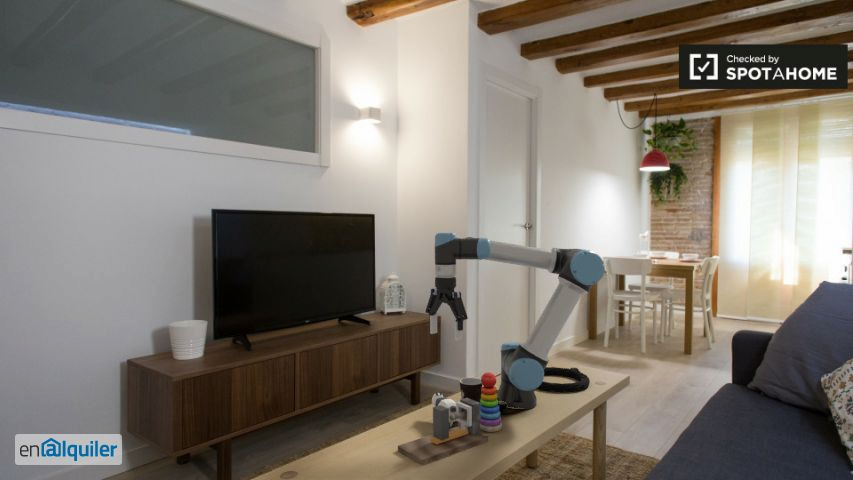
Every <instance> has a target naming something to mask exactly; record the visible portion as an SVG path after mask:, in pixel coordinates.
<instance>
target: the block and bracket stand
mask: <svg viewBox="0 0 853 480" xmlns="http://www.w3.org/2000/svg"><path fill="white" fill-rule="evenodd" d="M455 402H456V413H459V412H461V408H464V409H466V410H467V420H465V419H463V418H458V419H456V421H458V422H459V423H461V428H459V429H456V430H453V431H450V432H449V409H448V408H446V407H444V406H441V405H439V406H436V407H435V406H433V407H432V435H433V436H434V437H432V438H430V441H431V442H433V443H434V444H436V445H437V444H440V443H443V442H445V441H448V440H451V439H454V438H457V437H460V436H463V435H466V434H469V433H468V426H472V407H471V406H469V405H466V404H464V403H461V402H460V401H455Z"/></svg>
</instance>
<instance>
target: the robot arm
mask: <svg viewBox="0 0 853 480" xmlns="http://www.w3.org/2000/svg"><path fill="white" fill-rule="evenodd" d="M457 260H459V261H460V260H473V261H474V260H479V261H482V260H484V261H491V262H492V261H493V262H498V263H502V264H504V263H505V264H510V265H516V266H523V267H529V268H533V269H534V268H535V269H541V270H546V271H548V273H549V274H555V275H558V276H557V279H558V285H557V286H556V289H554V292H553V294H552V296H551V297H550V299H549V300H548V302H547V304H546V306H545V307H544V310H543V311H542V313H541V315H540V316H539V318H538V319H537V321H536V323H535V325H534V326H533V328H532V330H531V331H530V334H529V335H528V337H527V339H526V341H524V342H523V341H522V342H519V341H518V342H504V343H502V344H501V346H500V378H501V379H500V385H499V387H498V391H497V393H496V394H497V396H498V398H499V399H501V400H502V401H504V402H506V403H507V405H508V407H514V408H518V407H519V408H524V410H530V409H533V408H535V407H536V406H537V405H538V401H537V396H536V393H535V390H536V389H537V387H538V386H540V384H541V383H542V381H544V378H545V375H544V369H545V367H548V366H547V365H548V363H549V362H550V359H549V353H550V351H551V349H552V348H553V346H554V344H555V342H556V340H557V339H558V338H559V335H560V334H561V332H562V330H563V329H564V327H565V325H566V323H567V321H568V319H569V317H570V316H571V314H572V313H573V312H574V309H575V307H576V306H577V304H578V302H579V301H580V298H581V297H582V296H583V295H587V294H589V292H590V290H591V289H592V287H593V285H595V284H597V283H598V282H600V281H601V280H602V278H603V277H604V274H605V262H604V260H603V259H602V257H601V256H600V255H599V254H598V253H596V252H594V251H592V250H590V249H582V248H558V247H552V248H551V249H547V248H540V247H535V246H533V247H532V246H527V245H520V244H515V243H508V242H502V241H495V240H490V239H489V238H486V237H485V238H484V237H474V236H473V237H471V236H468V237H464V238H459V237H457V234H456V233H455V232H438V233H436V234H435V235H434V275H435V278H434V288H430V296H429V297H428V298H429V299H428V302H427V305H426V309H425V313H426V314H428V316H429V325H430V326H429V328H430V329H429V330H430V332H429V333H430V334H431V335H434V334H437V333H438V315H437V312H438V311H439V309H440V307H441V305H443V303H444V304H447V306H449V307H450V310H451V312H452V314H453V316H454V318H455V320H454V341H459V340H463V330H464V321H466V320H468V314H467V312H466V307H465V306H464V305H465V304H464V302H463V299H462V292H461V291H455V288H456V287H457V277H456V276H457Z"/></svg>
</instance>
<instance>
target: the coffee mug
mask: <svg viewBox="0 0 853 480" xmlns="http://www.w3.org/2000/svg"><path fill="white" fill-rule="evenodd" d="M482 387H483V384H482V382H481V378H478V377H463V378H461V379H459V388H460V396H461V399H465V398H469V399H471V400H474V401H477V402H479V403H480V400H481V399H482V398H481V394H482V391H481V389H482ZM461 399H460V400H461ZM480 404H481V403H480Z"/></svg>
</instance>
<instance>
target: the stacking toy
mask: <svg viewBox="0 0 853 480" xmlns="http://www.w3.org/2000/svg"><path fill="white" fill-rule="evenodd" d="M480 379H481V382H482V389H481V391H482V392H481V400H480V431H484V432H486V433H487V432H488V433H494V432H495V433H496V432H499V431H500V430H502V429H503V428H502V427H503V423H502V418H501V411H500V405H498V400H497V397H498V396H497V394H498V393H497V392H498V391H497V387H496V384H497V377H496V375H495V374H494V373H492V372H489V371H487V372H484V373H483V374H482V375H481V378H480Z"/></svg>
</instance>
